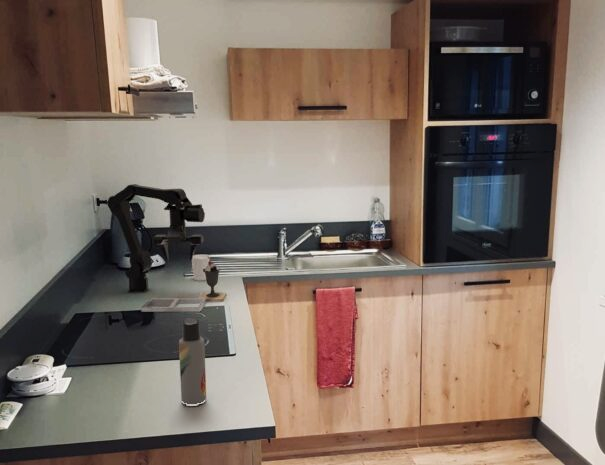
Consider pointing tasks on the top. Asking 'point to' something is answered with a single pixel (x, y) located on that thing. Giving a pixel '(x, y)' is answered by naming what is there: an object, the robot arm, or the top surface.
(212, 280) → the sundae
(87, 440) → the top surface
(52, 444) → the top surface
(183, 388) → the lotion bottle
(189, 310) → the divided tray
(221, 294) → the coaster
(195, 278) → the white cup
